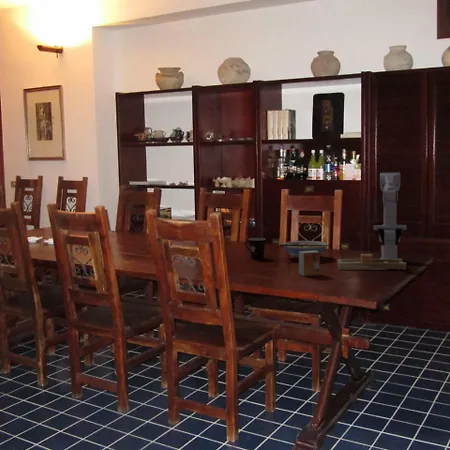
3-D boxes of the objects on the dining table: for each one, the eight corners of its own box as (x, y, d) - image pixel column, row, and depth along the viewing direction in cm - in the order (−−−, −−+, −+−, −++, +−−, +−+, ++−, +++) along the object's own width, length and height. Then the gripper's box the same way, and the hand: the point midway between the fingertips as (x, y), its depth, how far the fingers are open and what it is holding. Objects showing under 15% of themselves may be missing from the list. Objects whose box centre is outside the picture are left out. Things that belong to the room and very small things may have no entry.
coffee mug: (268, 258, 313) (268, 239, 312) (253, 260, 310) (252, 240, 309) (259, 255, 324) (258, 236, 323) (244, 256, 321) (243, 238, 320)
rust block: (360, 262, 287) (360, 253, 287) (371, 262, 287) (371, 253, 286) (361, 264, 283) (361, 255, 282) (372, 264, 282) (372, 255, 282)
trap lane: (337, 265, 292) (337, 259, 291) (401, 265, 289) (401, 258, 288) (339, 269, 281) (339, 263, 281) (406, 269, 278) (406, 263, 277)
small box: (303, 276, 268) (303, 253, 267) (298, 274, 274) (298, 251, 272) (320, 275, 270) (320, 251, 269) (315, 272, 276) (315, 249, 274)
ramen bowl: (327, 254, 323) (327, 238, 322) (331, 262, 300) (331, 245, 299) (280, 254, 325) (280, 239, 324) (280, 262, 303) (279, 246, 302)
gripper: (375, 217, 278) (375, 246, 279) (407, 216, 276) (407, 246, 278) (373, 215, 285) (372, 244, 286) (404, 215, 283) (404, 244, 285)
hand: (389, 245), depth 283 cm, fingers open, 5 cm apart
